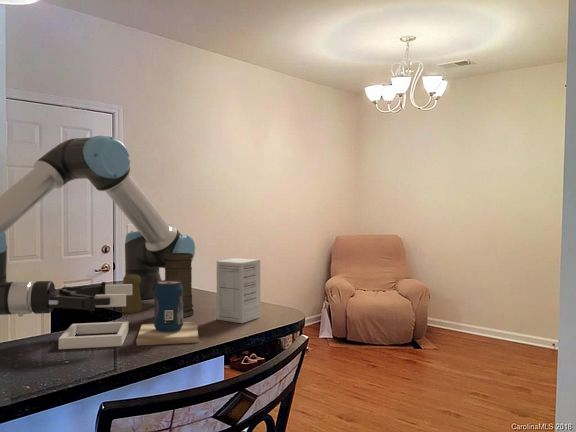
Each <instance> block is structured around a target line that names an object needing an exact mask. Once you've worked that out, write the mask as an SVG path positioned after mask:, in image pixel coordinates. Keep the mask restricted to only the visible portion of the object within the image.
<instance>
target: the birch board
mask: <svg viewBox="0 0 576 432" xmlns="http://www.w3.org/2000/svg"><path fill="white" fill-rule="evenodd" d="M198 330H199V327H198V322H197V321H183V326H182V328H181V329H180V330H179V331H177V332H173V333H160V332H158V331H157V330H156V328H155V326H154V323H142V324H141V326H140V329H139V332H138V334H137V337H136V346H154V345H156V346H157V345H170V344H171V345H174V344H175V345H176V344H189V343H190V344H193V343H194V344H195V343H199V331H198Z"/></svg>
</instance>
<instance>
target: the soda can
mask: <svg viewBox="0 0 576 432" xmlns="http://www.w3.org/2000/svg"><path fill="white" fill-rule="evenodd" d="M161 280H162V279H161ZM153 300H154V301H153V303H154V307H153V309H154V315H153V318H154V319H153V320H154V321H153V324H154V326H155V328H156V330H157V331H158V332H160V333H173V332H177V331H179V330H180V329H181V328H182V326H183V322H184V317H183V287H182V285H181V281H179V280H165V279H163V280H162V281H158V282H157V285H156V287H155V289H154V298H153Z"/></svg>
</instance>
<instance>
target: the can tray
mask: <svg viewBox="0 0 576 432" xmlns="http://www.w3.org/2000/svg"><path fill="white" fill-rule="evenodd" d="M129 325H130V324H129V321H128V320H127V321H108V322H85V323H82V322H81V323H71V325H70V326H69V327H68V328H67V329H66V330H65V331H64V332H62V334H61V336H60V337H58V350H69V349H71V350H73V349H74V350H75V349H89V348H91V349H92V348H107V347H109V348H111V347H122V346H123V343H124V341H125V339H126V337H127V335H128V332H129ZM111 333H112V334H111ZM114 333H115V334H114ZM76 334H77V335H79V336H77V335H76ZM90 334H91V335H90ZM93 334H94V335H93ZM95 334H97V335H95ZM99 334H101V335H99ZM75 335H76V336H75Z"/></svg>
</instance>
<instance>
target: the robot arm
mask: <svg viewBox="0 0 576 432" xmlns="http://www.w3.org/2000/svg"><path fill="white" fill-rule="evenodd" d="M129 157H130V153H129V150H128V148H127V147H126V146H125V144H124V143H123V142H122V141H120V140H119V139H118V138H115V137H113V136H104V135H96V136H92V137H80V138H69V139H67V140H64V141H63V142H61V143H59V144H57V145H55V146H54V147H53V148H52V149H50V150H49V151H47V152H45V154H43V155H42V156H41V157H40V158H39V159H38V160H36V161H35V162H34V163H33V167H32V168H33V169H31V170H30V171H29V172H28V173H26V174H25V175H24V176H23V177H22V178H20V179H19V180H18V181H16V183H14V184H13V185H11V187H9V188H8V189H7V190H5V191H4V192H3V193H2V194H0V316H5V315H17V316H18V317H22V316H24V315H31V314H32V313H33V314H36V315H38V314H50V313H52V312H53V310H54V308H55V309H58V308H59V309H69V310H70V309H71V310H73V309H74V310H84V311H89V312H95V311H96V310H95V308H112V307H113V308H117V307H122V306H126V295H132V284H124V283H123V282H122V284H121V283H120V284H106V283H107V282H106V281H101V283H96V284H86V285H77V286H63V287H62V288H60V289H56V288H55V287H56V286H55V283H54V281H51V280H38V281H37V280H36V281H35V282H34V281H32V280H28V281H27V280H24V281H22V280H20V281H18V280H17V281H7V263H8V262H7V260H8V259H7V258H8V255H7V254H8V245H7V236H6V235H7V234H6V232H7V231H8V230H9V229H10V228H11V227H12V226H14V225H15V224H16V223H17V222H18V221H19V220H21V218H22V217H24V216H25V215H26V214H28V212H30V211H31V210H32V209H33V208H34V207H35V206H36V205H37V204H38V203H40V202H41V201H42V200H43V199H45V197H46V196H47V195H49V194H50V193H51V192H52V191H53V190H54V189H62V188H63V186H64V185H65V184H68V183H69V182H71V181H75V180H78V179H83V180H85V179H87V180H88V181H89V182H90V183H91V184H92V186H93V187H94V189H96V190H97V191H99V192H105V193H106V194H107V196H108V197H110V199H111V200H112V201H113V202H114V204H115V205H116V206H117V207H118V209H120V211H121V212H122V213H123V214H124V216H126V217H125V218H127V219H128V220H129V222H130V223H131V224H132V225H133V227H134V228H135V229H136V230H137V231H130V232H128V233H126V235H125V240H124V241H125V243H124V265H125V269H124V271H125V272H124V273H125V275H124V276H126V275H130V274H136V275H139V276H140V277H141V283H140V284H139V289H140V296H141V300H146V299H148V300H149V299H154V289H155V287H156V285H157V282H158V281H162V277H161V274H160V268H161V269H165V260H166V259H165V258H164V254H168V253H191V254H193V258H191V260H192V261H193V260H194V257H195V255H196V253H195V252H196V244H195V240H194V239H193V237H191V235H187V234H182V233H181V232H180V231H179V229H177V227H176V226H175V225H173V224H171V223H167V221H166V220H165V219H164V217H163V216H162V215H161V213H160V212H159V211H158V209H157V208H156V207H155V205H153V203H152V201H151V200H150V199H149V198H148V196H147V195H146V194H145V193H144V191H143V190H142V189H141V187H140V185H139V184H138V183H137V182H136V181H135V179H134V178H133V177H132V175H131V172H132V171H131V170H132V168H131V159H130V158H129Z"/></svg>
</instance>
